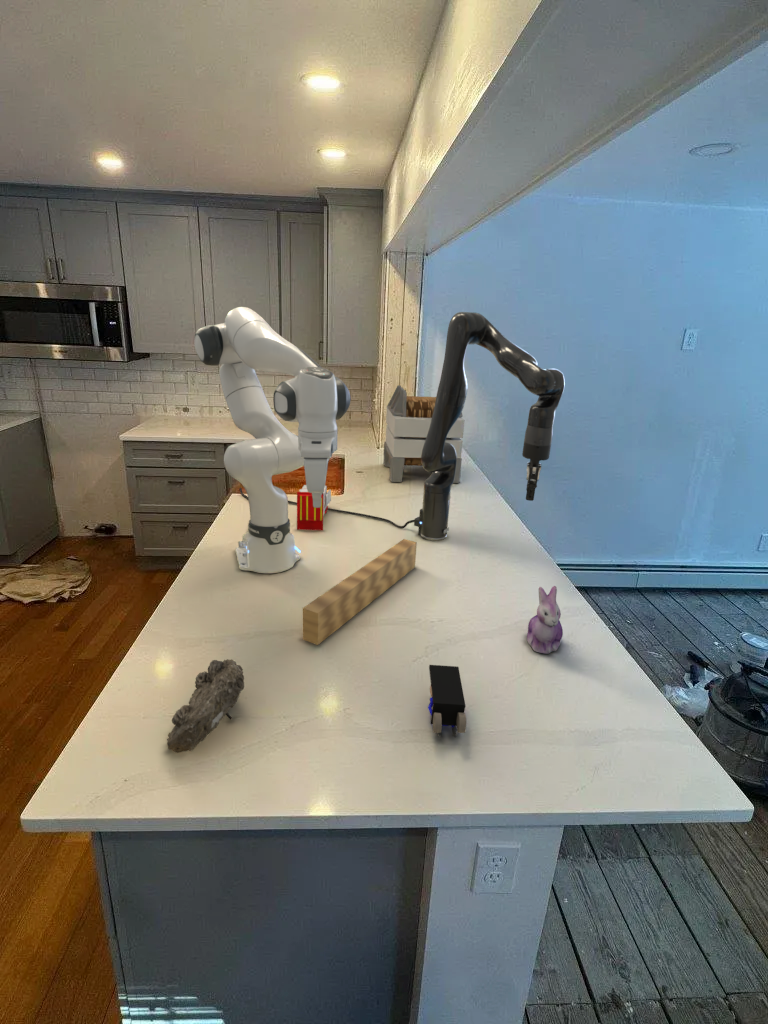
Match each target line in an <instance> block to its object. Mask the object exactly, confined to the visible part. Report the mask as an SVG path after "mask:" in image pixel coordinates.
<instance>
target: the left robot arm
mask: <svg viewBox="0 0 768 1024" xmlns="http://www.w3.org/2000/svg"><path fill="white" fill-rule="evenodd" d="M193 345H194V350H195V352H196V355H197V357H198V358H199V360H200V362H202V363H203V364H204V365H205V366H214V367H216V366H217V367H218V366H220V367H219V372H218V373H219V374H218V375H219V381H220V385H221V390H222V394H223V397H224V399H225V403H226V405H227V408H228V410H229V413H230V416H231V419H232V421H233V423H234V425H235V426H236V427H237V428H238V429H239V430H241V431H243V432H245V433H248V434H249V435H251V436H252V437H253V438H252V439H245V440H242V441H238V442H235V443H232V444H231V445H229V446H228V447H227V448H226V449H225V451H224V455H223V465H224V469H225V471H226V472H227V474H228V475H229V476H230V477H231V478H232V479H234V480H236V481H237V482H239V483H240V484H241V485H242V487H243V488H244V490H245V493H246V494H247V495H246V494H244V493H243V489H242V487H239V488H238V490H239V493H240V495H241V496H243V497H244V498H245V499H247V500H248V506H249V520H248V523H247V524H248V525H247V527H248V528H247V531H246V532H245V533H244V534H242V536H241V537H242V540H239V541H238V542H237V547H235V551H234V552H235V555H236V559H237V563H238V567H239V568H238V569H240V571H247V572H248V571H249V572H250V571H251V572H254V573H257V574H258V573H259V574H277V573H281V572H285V571H288V570H290V569H292V568H293V567H294V566H295V563H296V562H298V561H300V559H301V556H300V554H301V551H302V550H300V549H299V548H298V547H297V546H296V542H295V535H294V534H293V533H291V520H290V518H289V503H288V501H289V498H288V495H287V493H286V492H285V491H284V490H283V489H282V488H281V487H278V486H276V485H274V484H273V480H272V479H273V478H272V477H273V476H277V475H282V474H286V473H287V474H289V473H292V472H294V471H297V470H298V469H300V468H304V477H305V485H306V486H307V490H308V492H309V493H312V498H313V507H315V508H320V507H321V495H322V494H323V492H324V489H325V486H326V483H327V474H328V469H329V468H328V467H329V461H330V459H331V458H332V457H333V454H334V453H335V452H337V451H338V441H339V440H338V438H339V437H338V434H339V433H338V429H339V428H338V424H337V421H339V420H341V419H342V418H343V417H344V416H345V415H346V413H347V411H348V410H349V408H350V405H351V393H350V390H349V389H348V386H347V385H346V384H345V383H344V381H343V380H342V379H340V378H339V377H337V376H336V375H335V373H334V372H332V371H331V370H330V369H327V368H325V367H322V366H321V365H320V364H319V363H318V362H316V360H314V358H313V357H311V356H310V355H309V354H308V353H307V352H306V351H304V349H301V348H300V347H298V346H297V345H296V344H293V343H292V342H291V341H288V340H287V339H286V338H284V337H283V336H282V335H280V334H279V333H278V332H276V331H275V330H274V329H273V328H272V327H271V325H270V324H269V323H268V322H267V321H266V320H265V318H264V317H262V316H261V315H260V314H258V312H256V311H255V310H253V309H251V308H250V307H247V306H238V307H234V308H232V309H231V310H230V311H229V312H228V313H227V315H226V316H225V318H224V322H221V323H217V324H212V325H211V324H208V325H204V326H202V327H200V328H198V329H197V330H196V332H195V334H194V344H193ZM257 371H258V372H264V373H274V374H275V373H276V374H284V375H288V376H292V378H290V379H287V380H283V381H281V382H280V383H279V384H278V385H277V386H276V387H275V389H274V392H273V395H272V396H273V397H272V399H273V409H274V412H275V413H276V415H277V416H278V417H279V418H281V420H283V421H284V422H290V423H297V422H298V427H297V434H295V433H293V432H291V430H289V429H287V428H286V427H285V426H284V425H283V424H282V423H281V422H280V420H279V419H278V418H277V416H276V415H275V414H274V412H273V410H272V408H271V406H270V404H269V401H268V399H267V396H266V394H265V391H264V389H263V386H262V383H261V382H260V379H259V377H258V376H257V375H258V374H257ZM296 552H298V553H299V554H298V553H296Z"/></svg>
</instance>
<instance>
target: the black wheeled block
mask: <svg viewBox="0 0 768 1024" xmlns="http://www.w3.org/2000/svg"><path fill="white" fill-rule="evenodd" d="M428 670H429V677H430V678H429V679H430V686H429V694H430V698H429V701H430V702H429V704H428V705H427V709H428V712H429V714H430V725H432V732H433V734H437V736H438V737H439V738H441V737H442V728H443V727H449V726H450V727H451V734H452V737H454V738H456V737H457V736H458V734H457V733H459V734H465V733H466V731H467V716H466V713H465V710H466V700H465V694H464V690H463V685H462V679H461V678H462V677H461V673H460V667H459V666H453V665H442V664H441V665H440V664H439V665H438V664H429V666H428ZM442 726H443V727H442Z"/></svg>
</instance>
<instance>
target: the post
mask: <svg viewBox="0 0 768 1024" xmlns="http://www.w3.org/2000/svg"><path fill="white" fill-rule="evenodd" d="M417 545H418V544H417V541H413V540H410V539H405V538H403V539H402V540H400V541H399V542H397V543H396V544H394V545H392V546H391V547H390V548H388V549H387V550H386V551H384V552H383V553H381V554H380V555H378V556H377V557H375V558H374V559H373V560H371V561H369V562H368V563H367V564H365V565H364V566H362V567H361V568H359V569H358V570H356V571H355V572H353V573H352V574H351V575H349V576H348V577H346V578H345V579H343V580H341V581H340V582H339V583H337V584H335V585H334V586H333V587H331V588H330V589H328V590H327V591H325V592H324V593H323V594H321V595H319V596H318V597H317V598H315V599H313V600H312V601H311V602H309V603H308V604H306V605H305V606H304V607H302V640H303V641H306V642H308V643H311V644H314V645H316V646H318V645H320V644H321V643H322V642H323V641H325V640H326V639H328V638H329V637H330V636H331V635H332V634H334V633H335V632H336V631H338V629H340V628H341V627H343V625H345V624H347V622H348V621H350V620H352V619H353V617H355V616H356V615H357V614H359V613H360V612H361V611H362V610H364V609H365V608H366V607H368V606H369V605H370V604H371V603H372V602H373V601H375V600H376V599H378V598H379V597H380V596H381V595H383V594H384V593H385V592H386V591H388V589H390V588H392V586H394V585H395V584H396V583H398V582H399V581H400V580H402V579H403V578H404V577H405V576H406V575H408V574H409V573H410V572H411V571H413V570H414V569H415V568H416V556H417Z"/></svg>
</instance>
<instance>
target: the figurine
mask: <svg viewBox="0 0 768 1024" xmlns="http://www.w3.org/2000/svg"><path fill="white" fill-rule="evenodd" d="M557 592H558V588H557V586H556V585H553V586H551V588H550V590H549V593H548V594H547V592H546V591H545V589H544V588H543V587H542V586H539V587H538V601H539V603H538V604H539V605H538V606H537V609H536V614H535V615H534V616H532V617H531V618H530V619H529V621H528V625H527V634H526V641H527V644H528V645H529V646H530V647H531V648H532V650H533V651H534V652H535V653H540V654H545V655H546V654H550V653H551V652H556V651H557V650H558V649H559V647H560V644H561V640H562V638H563V637H564V636H563V635H564V633H563V632H564V630H563V626H562V624H561V621H560V620H561V615H562V614H561V609H560V607H559V604H558V603H557Z"/></svg>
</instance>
